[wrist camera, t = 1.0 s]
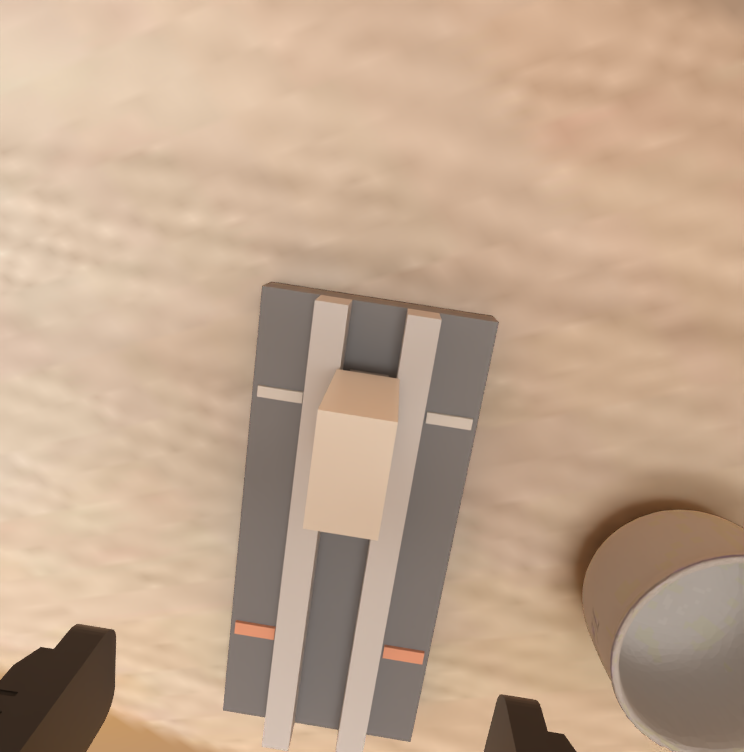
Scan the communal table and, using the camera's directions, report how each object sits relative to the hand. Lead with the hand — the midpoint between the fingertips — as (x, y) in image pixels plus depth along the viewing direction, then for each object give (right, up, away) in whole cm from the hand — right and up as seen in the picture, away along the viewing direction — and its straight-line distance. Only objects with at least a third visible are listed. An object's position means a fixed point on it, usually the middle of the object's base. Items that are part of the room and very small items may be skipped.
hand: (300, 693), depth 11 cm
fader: (+1, +5, +18) cm, 18 cm away
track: (0, -2, +22) cm, 22 cm away
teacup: (+20, -6, +22) cm, 30 cm away
